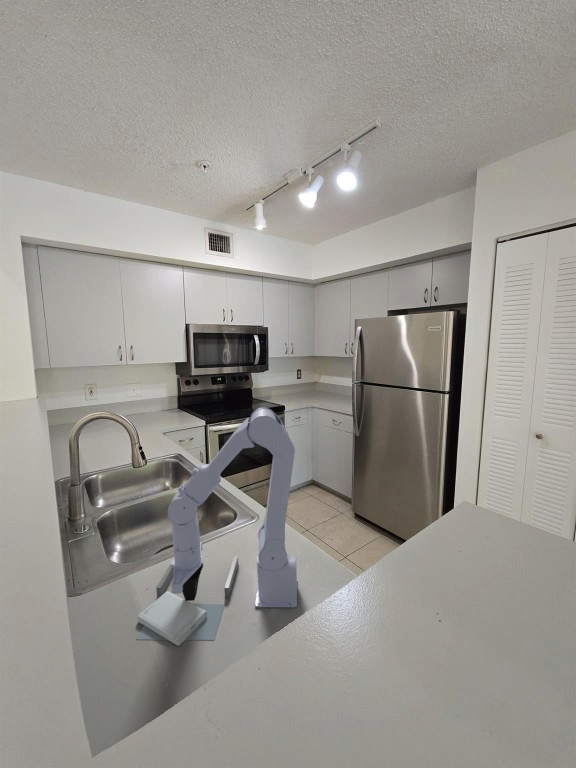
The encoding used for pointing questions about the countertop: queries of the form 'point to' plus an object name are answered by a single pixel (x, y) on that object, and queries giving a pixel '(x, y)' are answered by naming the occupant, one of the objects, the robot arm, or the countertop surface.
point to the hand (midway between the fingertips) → (190, 598)
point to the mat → (202, 632)
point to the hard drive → (172, 617)
